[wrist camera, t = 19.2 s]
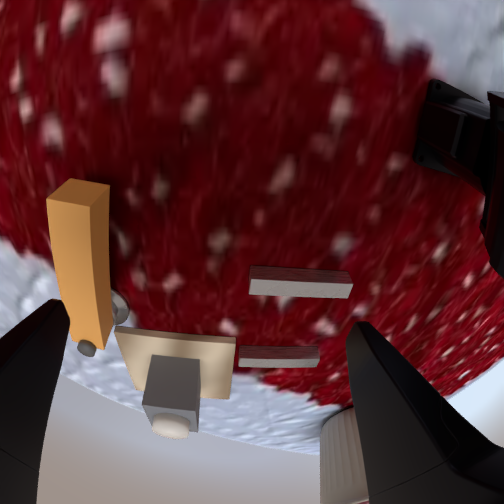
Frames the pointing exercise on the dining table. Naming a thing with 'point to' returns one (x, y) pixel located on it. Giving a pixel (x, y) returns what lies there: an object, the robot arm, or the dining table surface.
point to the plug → (173, 396)
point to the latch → (83, 259)
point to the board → (179, 345)
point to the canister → (342, 461)
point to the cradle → (277, 285)
